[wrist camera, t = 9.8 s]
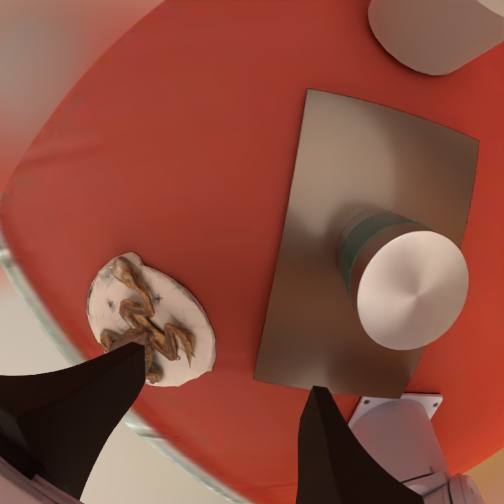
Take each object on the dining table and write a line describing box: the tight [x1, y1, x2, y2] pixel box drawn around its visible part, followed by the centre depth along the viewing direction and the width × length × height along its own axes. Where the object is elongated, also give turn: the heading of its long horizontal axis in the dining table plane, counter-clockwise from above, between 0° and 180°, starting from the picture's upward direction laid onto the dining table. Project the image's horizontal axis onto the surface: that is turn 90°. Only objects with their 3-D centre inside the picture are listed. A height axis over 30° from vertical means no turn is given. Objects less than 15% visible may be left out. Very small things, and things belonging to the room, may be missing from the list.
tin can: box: [336, 210, 469, 350], centre depth 14 cm, size 5×5×7 cm
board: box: [253, 88, 479, 399], centre depth 18 cm, size 20×12×1 cm, turn 171°
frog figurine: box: [87, 252, 216, 387], centre depth 21 cm, size 12×12×4 cm
